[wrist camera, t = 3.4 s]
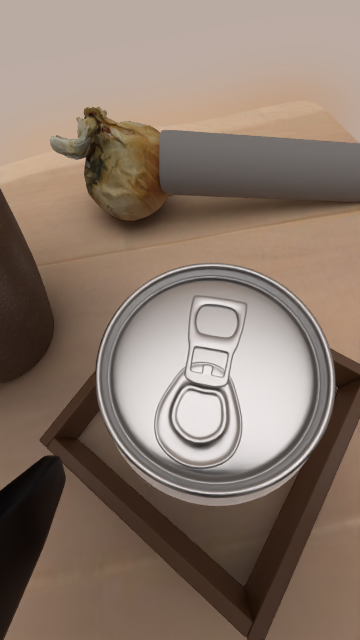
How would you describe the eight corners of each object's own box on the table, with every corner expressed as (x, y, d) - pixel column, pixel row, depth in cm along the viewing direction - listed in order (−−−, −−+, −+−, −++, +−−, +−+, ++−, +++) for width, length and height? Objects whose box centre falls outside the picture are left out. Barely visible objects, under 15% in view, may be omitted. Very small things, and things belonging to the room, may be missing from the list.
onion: (138, 252, 23) (107, 163, 16) (80, 210, 26) (31, 118, 18) (196, 200, 25) (193, 100, 18) (137, 166, 28) (113, 67, 20)
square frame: (249, 609, 13) (259, 652, 11) (64, 441, 17) (38, 440, 15) (352, 385, 17) (379, 373, 15) (182, 290, 21) (178, 267, 19)
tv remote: (157, 129, 20) (159, 120, 18) (396, 146, 22) (417, 140, 21) (157, 194, 21) (159, 191, 19) (382, 203, 24) (401, 201, 22)
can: (146, 456, 17) (31, 476, 6) (170, 355, 19) (122, 238, 8) (254, 483, 15) (366, 574, 5) (264, 373, 18) (353, 264, 7)
